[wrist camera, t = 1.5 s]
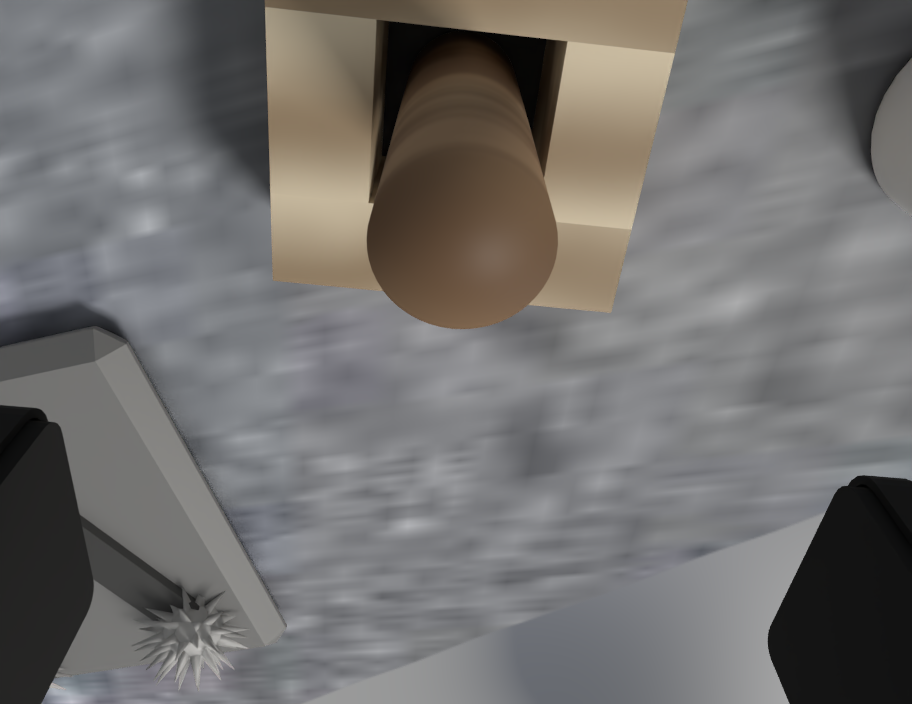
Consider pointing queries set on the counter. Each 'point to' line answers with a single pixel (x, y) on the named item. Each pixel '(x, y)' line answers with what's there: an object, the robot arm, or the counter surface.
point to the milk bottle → (895, 140)
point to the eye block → (554, 129)
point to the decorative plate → (139, 515)
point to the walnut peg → (462, 192)
